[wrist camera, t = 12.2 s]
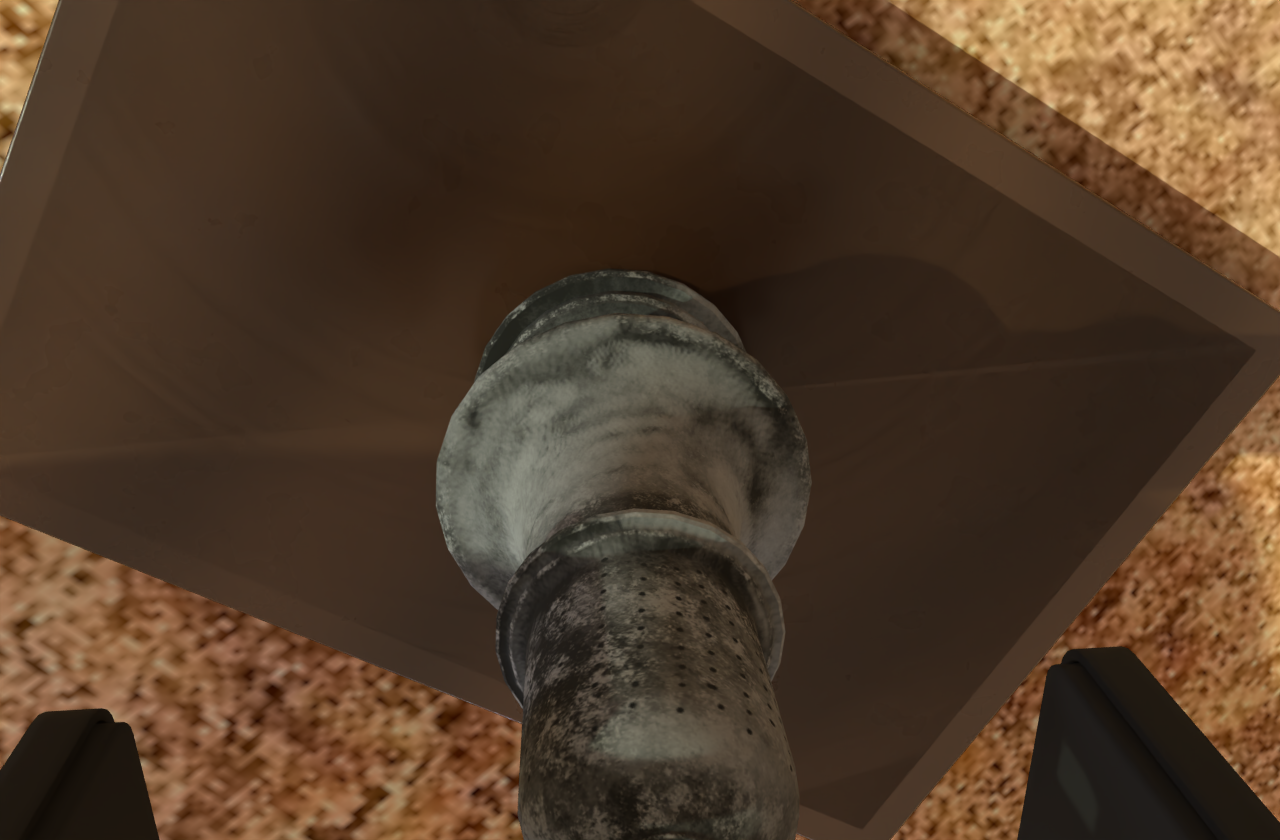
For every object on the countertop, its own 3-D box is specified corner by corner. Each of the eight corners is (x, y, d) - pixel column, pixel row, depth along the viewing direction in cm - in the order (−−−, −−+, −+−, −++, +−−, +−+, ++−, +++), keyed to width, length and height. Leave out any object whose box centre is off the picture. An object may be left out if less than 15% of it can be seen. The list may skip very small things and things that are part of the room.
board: (-60, 441, 21) (-103, 476, 19) (219, -356, 16) (186, -385, 15) (855, 817, 26) (870, 864, 25) (1269, 309, 21) (1316, 334, 20)
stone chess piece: (667, 187, 18) (821, 544, 7) (826, 444, 20) (1129, 1017, 9) (390, 364, 19) (156, 916, 8) (571, 592, 21) (577, 1266, 10)
